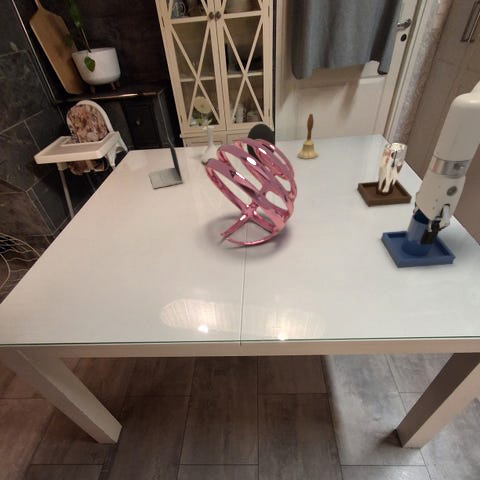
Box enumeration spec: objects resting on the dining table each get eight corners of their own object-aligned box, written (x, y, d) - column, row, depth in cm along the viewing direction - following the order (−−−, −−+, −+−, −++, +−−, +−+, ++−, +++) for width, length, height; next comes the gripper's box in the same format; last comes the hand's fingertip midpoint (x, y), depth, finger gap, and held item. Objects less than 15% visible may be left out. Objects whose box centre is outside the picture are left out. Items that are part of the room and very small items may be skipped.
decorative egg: (269, 169, 128) (268, 129, 117) (243, 166, 133) (240, 128, 122) (279, 158, 136) (279, 120, 125) (254, 156, 140) (252, 119, 129)
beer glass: (371, 197, 102) (382, 149, 91) (373, 188, 107) (384, 142, 96) (393, 199, 100) (407, 150, 89) (394, 190, 104) (408, 142, 93)
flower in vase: (230, 159, 140) (223, 94, 122) (213, 167, 135) (203, 100, 117) (211, 154, 147) (201, 92, 129) (194, 162, 142) (182, 98, 123)
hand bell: (318, 152, 136) (322, 111, 124) (314, 159, 131) (318, 117, 119) (300, 151, 139) (302, 111, 127) (296, 158, 134) (298, 117, 122)
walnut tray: (395, 185, 108) (397, 179, 107) (410, 203, 99) (412, 196, 97) (357, 188, 109) (358, 183, 107) (368, 206, 100) (369, 200, 98)
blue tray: (429, 235, 86) (432, 228, 84) (452, 263, 77) (455, 256, 75) (381, 238, 87) (382, 232, 85) (398, 267, 77) (400, 260, 76)
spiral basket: (194, 208, 68) (271, 105, 64) (169, 193, 90) (225, 117, 87) (269, 274, 84) (334, 195, 81) (233, 248, 107) (282, 185, 103)
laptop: (149, 174, 136) (139, 143, 127) (175, 168, 138) (168, 137, 129) (154, 189, 124) (143, 156, 115) (183, 183, 126) (175, 149, 117)
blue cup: (422, 240, 83) (435, 210, 77) (433, 254, 79) (447, 224, 72) (397, 242, 84) (408, 212, 77) (406, 256, 79) (418, 226, 73)
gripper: (489, 178, 59) (451, 253, 72) (448, 148, 71) (421, 218, 84) (450, 182, 60) (419, 256, 73) (415, 151, 71) (393, 220, 84)
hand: (420, 235), depth 78 cm, fingers closed on blue cup, 6 cm apart
